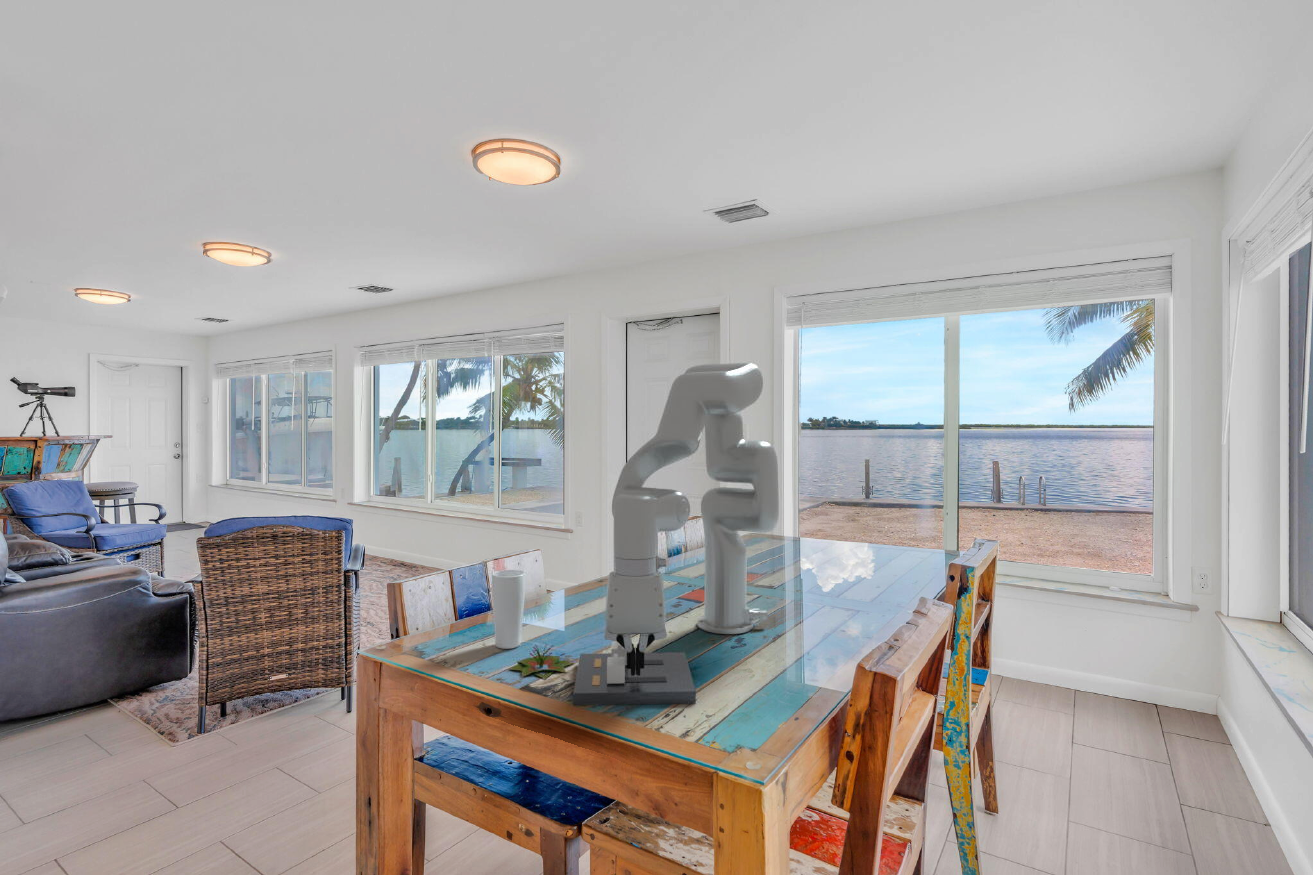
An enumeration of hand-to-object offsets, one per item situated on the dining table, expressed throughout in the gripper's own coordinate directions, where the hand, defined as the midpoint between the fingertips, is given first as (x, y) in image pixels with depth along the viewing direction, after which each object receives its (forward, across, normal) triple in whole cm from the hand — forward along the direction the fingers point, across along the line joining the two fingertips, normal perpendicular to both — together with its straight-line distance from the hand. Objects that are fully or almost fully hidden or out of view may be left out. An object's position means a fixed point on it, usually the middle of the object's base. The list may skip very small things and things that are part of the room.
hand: (635, 672), depth 109 cm
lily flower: (+4, +17, -12) cm, 21 cm away
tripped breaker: (+1, +3, 0) cm, 3 cm away
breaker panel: (+3, 0, -4) cm, 5 cm away
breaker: (+1, +3, -8) cm, 9 cm away
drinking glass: (+4, +25, -24) cm, 35 cm away
